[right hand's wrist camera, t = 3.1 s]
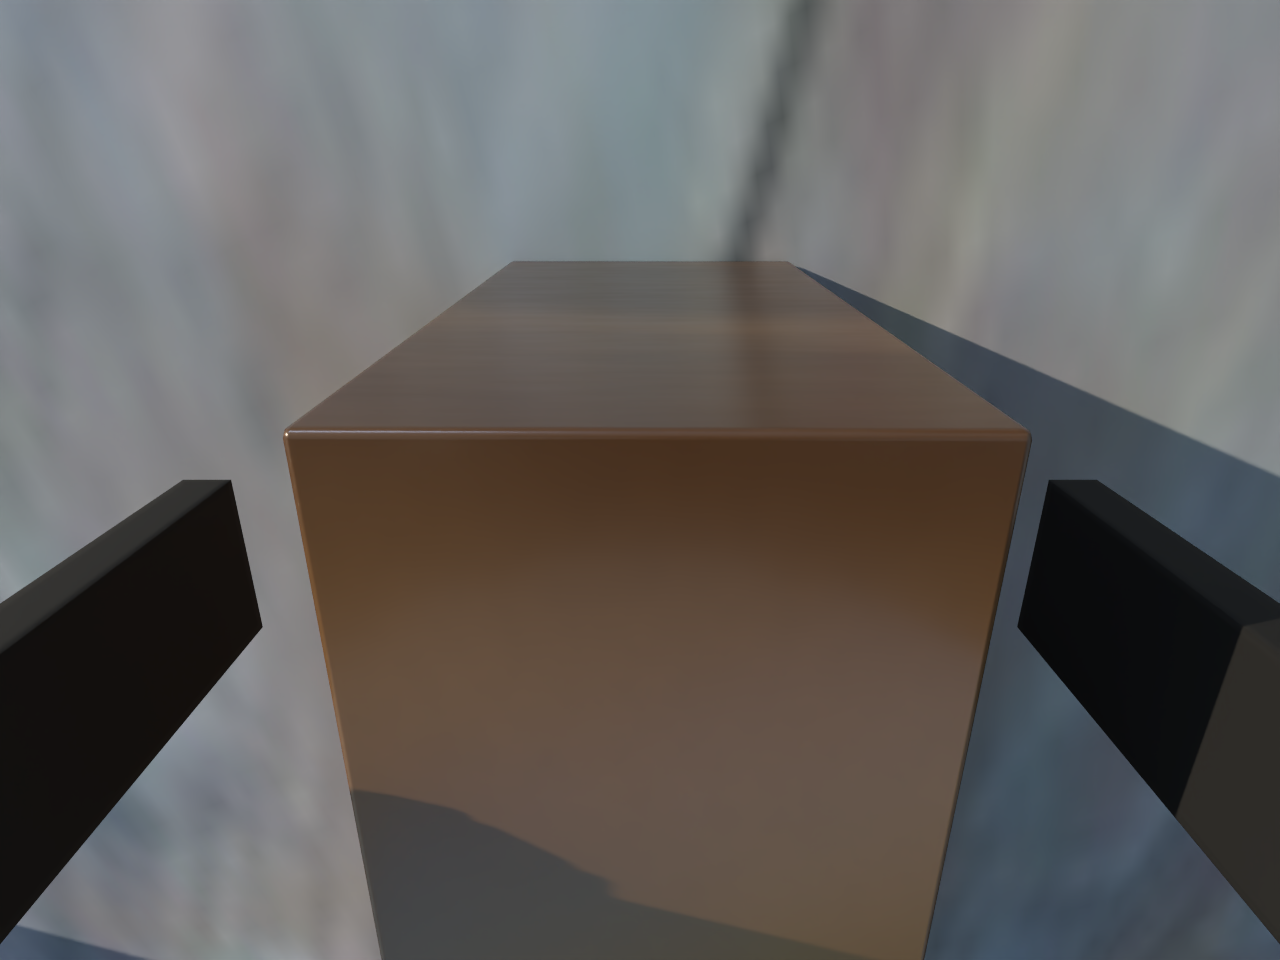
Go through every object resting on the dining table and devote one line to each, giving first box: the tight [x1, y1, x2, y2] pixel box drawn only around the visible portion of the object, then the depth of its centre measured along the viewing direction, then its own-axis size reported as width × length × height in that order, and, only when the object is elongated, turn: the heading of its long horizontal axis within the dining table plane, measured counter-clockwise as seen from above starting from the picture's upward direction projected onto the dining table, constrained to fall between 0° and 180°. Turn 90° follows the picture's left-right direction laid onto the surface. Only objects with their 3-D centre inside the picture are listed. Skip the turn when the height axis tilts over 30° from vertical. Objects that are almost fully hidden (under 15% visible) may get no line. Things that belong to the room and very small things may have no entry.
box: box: [283, 261, 1032, 960], centre depth 17 cm, size 28×6×12 cm, turn 0°
